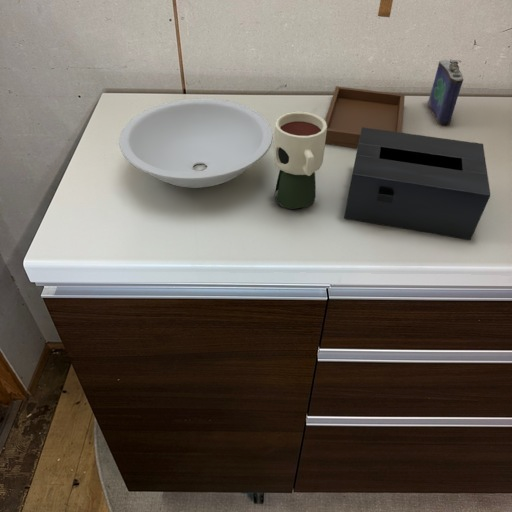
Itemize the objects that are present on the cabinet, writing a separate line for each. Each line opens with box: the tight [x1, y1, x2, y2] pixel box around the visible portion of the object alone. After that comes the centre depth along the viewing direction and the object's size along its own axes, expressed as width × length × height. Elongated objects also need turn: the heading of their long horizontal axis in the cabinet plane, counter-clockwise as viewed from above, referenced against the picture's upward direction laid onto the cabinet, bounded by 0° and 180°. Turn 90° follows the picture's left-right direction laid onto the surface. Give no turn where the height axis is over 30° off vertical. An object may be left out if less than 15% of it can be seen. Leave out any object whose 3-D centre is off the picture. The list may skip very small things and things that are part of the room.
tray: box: [324, 85, 406, 149], centre depth 89 cm, size 18×14×3 cm
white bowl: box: [118, 97, 274, 189], centre depth 77 cm, size 24×24×7 cm
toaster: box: [343, 127, 492, 241], centre depth 70 cm, size 18×14×8 cm
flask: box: [427, 59, 464, 127], centre depth 89 cm, size 9×3×11 cm, turn 1°
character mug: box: [273, 111, 327, 210], centre depth 69 cm, size 11×7×13 cm, turn 12°
